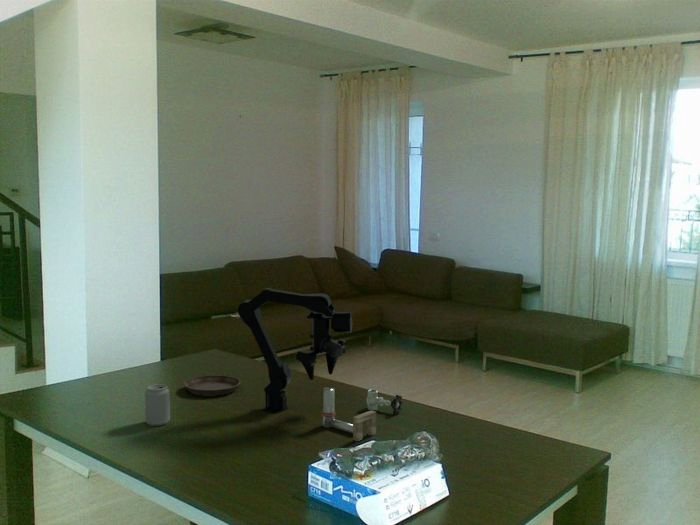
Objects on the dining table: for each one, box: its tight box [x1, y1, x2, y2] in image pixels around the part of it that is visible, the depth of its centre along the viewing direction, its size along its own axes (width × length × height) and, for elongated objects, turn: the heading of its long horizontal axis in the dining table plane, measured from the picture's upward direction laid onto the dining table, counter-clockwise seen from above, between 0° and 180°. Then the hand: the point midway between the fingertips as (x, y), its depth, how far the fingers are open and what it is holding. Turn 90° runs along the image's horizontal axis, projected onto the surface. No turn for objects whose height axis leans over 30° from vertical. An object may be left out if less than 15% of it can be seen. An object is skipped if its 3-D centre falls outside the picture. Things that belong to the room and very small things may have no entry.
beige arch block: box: [352, 410, 377, 442], centre depth 204 cm, size 2×8×7 cm, turn 139°
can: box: [144, 383, 171, 427], centre depth 216 cm, size 8×8×12 cm
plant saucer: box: [183, 374, 241, 397], centre depth 252 cm, size 21×21×3 cm
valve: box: [366, 388, 404, 415], centre depth 229 cm, size 7×7×12 cm
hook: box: [321, 386, 353, 434], centre depth 210 cm, size 14×4×12 cm, turn 49°
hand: (321, 377), depth 227 cm, fingers open, 9 cm apart
